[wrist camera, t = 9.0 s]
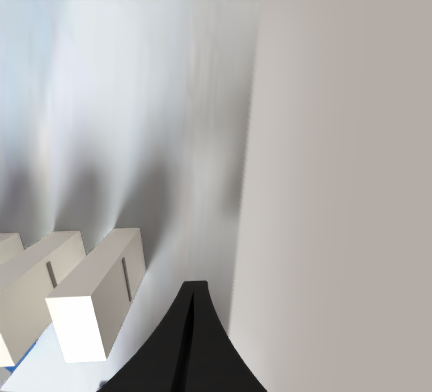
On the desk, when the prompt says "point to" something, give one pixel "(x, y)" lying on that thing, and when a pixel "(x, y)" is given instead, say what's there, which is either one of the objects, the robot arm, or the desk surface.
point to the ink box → (11, 369)
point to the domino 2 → (98, 296)
